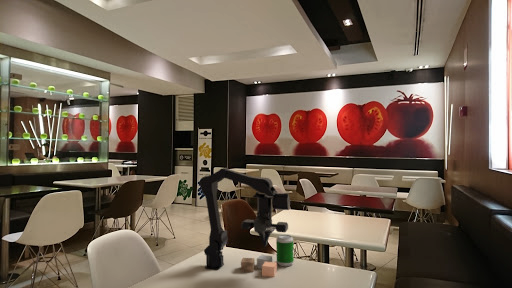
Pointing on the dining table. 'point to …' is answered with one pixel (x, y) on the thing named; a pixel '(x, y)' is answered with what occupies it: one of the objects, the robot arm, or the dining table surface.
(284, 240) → the soda can
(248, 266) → the walnut block
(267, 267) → the terracotta block
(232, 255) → the dining table surface
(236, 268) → the dining table surface
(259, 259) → the slate block
